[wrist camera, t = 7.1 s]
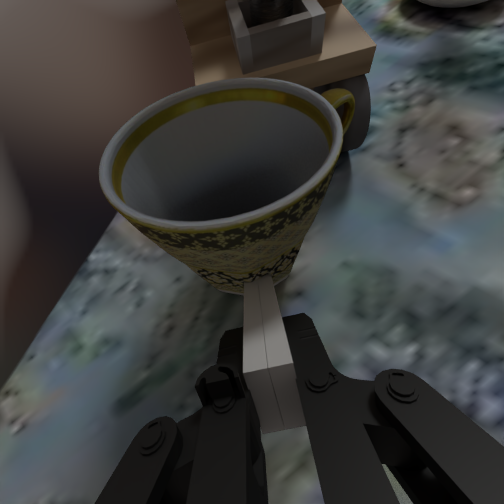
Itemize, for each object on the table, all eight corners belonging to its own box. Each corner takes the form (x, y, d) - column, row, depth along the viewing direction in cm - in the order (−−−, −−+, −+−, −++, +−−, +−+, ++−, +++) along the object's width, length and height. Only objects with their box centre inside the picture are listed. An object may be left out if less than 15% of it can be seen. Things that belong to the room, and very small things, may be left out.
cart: (360, 162, 21) (429, -36, 10) (228, 195, 21) (170, 39, 11) (324, 95, 25) (348, -91, 15) (216, 124, 26) (166, -35, 15)
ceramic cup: (222, 354, 15) (136, 288, 6) (167, 246, 20) (78, 130, 11) (377, 248, 17) (464, 101, 9) (292, 177, 22) (296, 41, 14)
